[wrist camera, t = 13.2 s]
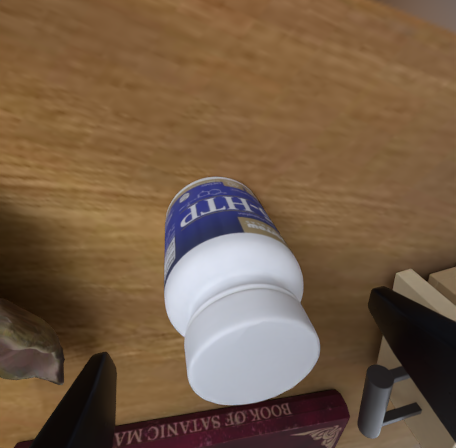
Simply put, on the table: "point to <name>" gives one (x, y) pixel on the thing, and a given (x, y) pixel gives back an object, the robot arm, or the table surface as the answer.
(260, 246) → the pill bottle
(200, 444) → the book
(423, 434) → the drawer
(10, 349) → the ceramic sculpture
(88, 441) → the robot arm
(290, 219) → the table surface
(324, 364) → the table surface
